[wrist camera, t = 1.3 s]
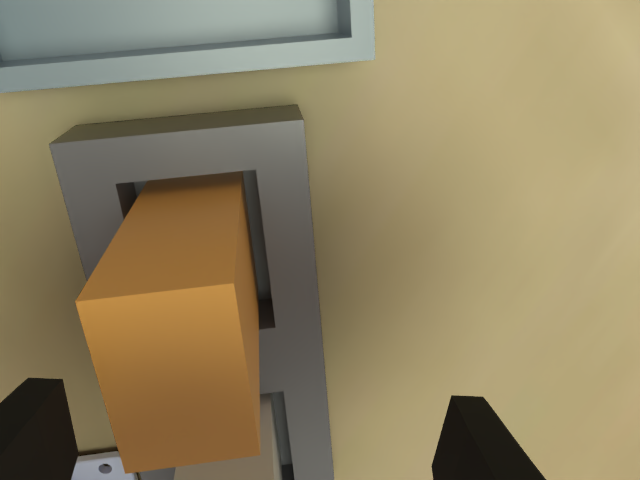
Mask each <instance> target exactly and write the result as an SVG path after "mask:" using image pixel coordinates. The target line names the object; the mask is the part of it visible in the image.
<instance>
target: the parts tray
mask: <svg viewBox="0 0 640 480" xmlns="http://www.w3.org/2000/svg"><path fill="white" fill-rule="evenodd" d="M366 60H375V36H374V4H373V0H0V93H5V92H16V91H28V90H39V89H50V88H61V87H73V86H84V85H95V84H106V83H118V82H129V81H140V80H152V79H163V78H174V77H185V76H197V75H208V74H219V73H230V72H242V71H253V70H264V69H275V68H287V67H298V66H309V65H321V64H332V63H343V62H354V61H366Z"/></svg>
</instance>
